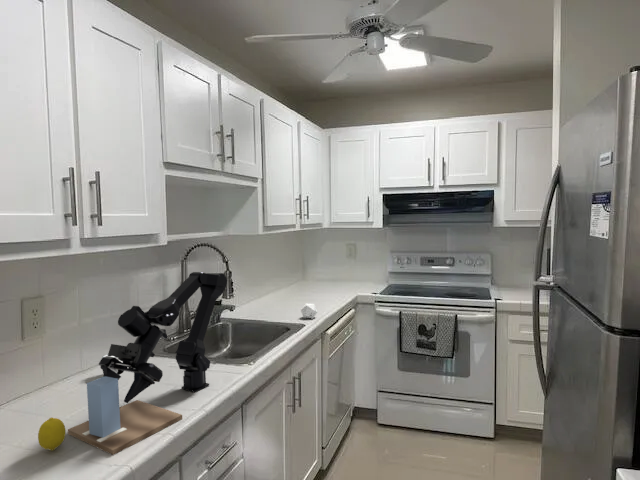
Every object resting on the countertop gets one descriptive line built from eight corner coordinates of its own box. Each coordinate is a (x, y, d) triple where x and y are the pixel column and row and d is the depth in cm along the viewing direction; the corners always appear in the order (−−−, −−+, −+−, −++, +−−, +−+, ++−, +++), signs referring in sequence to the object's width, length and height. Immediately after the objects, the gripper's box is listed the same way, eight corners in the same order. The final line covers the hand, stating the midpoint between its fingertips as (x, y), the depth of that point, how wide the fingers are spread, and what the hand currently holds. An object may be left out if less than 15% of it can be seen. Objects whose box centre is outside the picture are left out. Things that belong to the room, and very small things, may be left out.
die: (306, 321, 222) (317, 307, 222) (295, 312, 226) (305, 298, 226) (312, 323, 229) (322, 309, 229) (301, 314, 233) (311, 300, 233)
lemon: (71, 443, 102) (69, 412, 102) (57, 456, 97) (55, 422, 96) (48, 444, 102) (46, 413, 102) (33, 457, 97) (31, 424, 96)
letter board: (137, 403, 124) (137, 399, 124) (182, 418, 114) (182, 414, 113) (67, 433, 107) (67, 428, 107) (113, 455, 97) (112, 449, 97)
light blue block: (107, 424, 109) (104, 376, 108) (120, 428, 106) (117, 378, 106) (89, 433, 104) (86, 383, 103) (103, 437, 102) (100, 386, 101)
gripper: (102, 327, 115) (66, 381, 106) (151, 333, 107) (117, 392, 98) (127, 347, 123) (96, 398, 113) (175, 354, 115) (146, 410, 106)
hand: (112, 399), depth 107 cm, fingers open, 9 cm apart
